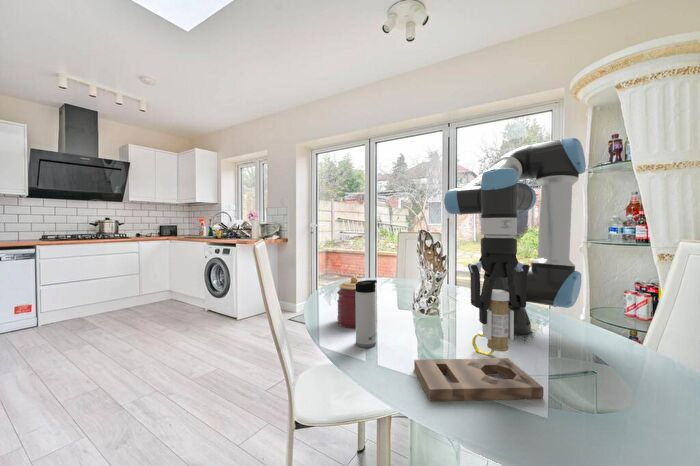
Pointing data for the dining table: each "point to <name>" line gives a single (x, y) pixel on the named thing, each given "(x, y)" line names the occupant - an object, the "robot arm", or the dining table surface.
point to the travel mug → (365, 313)
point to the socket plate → (475, 380)
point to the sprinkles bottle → (499, 320)
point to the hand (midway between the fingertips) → (497, 337)
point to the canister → (347, 303)
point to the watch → (476, 346)
